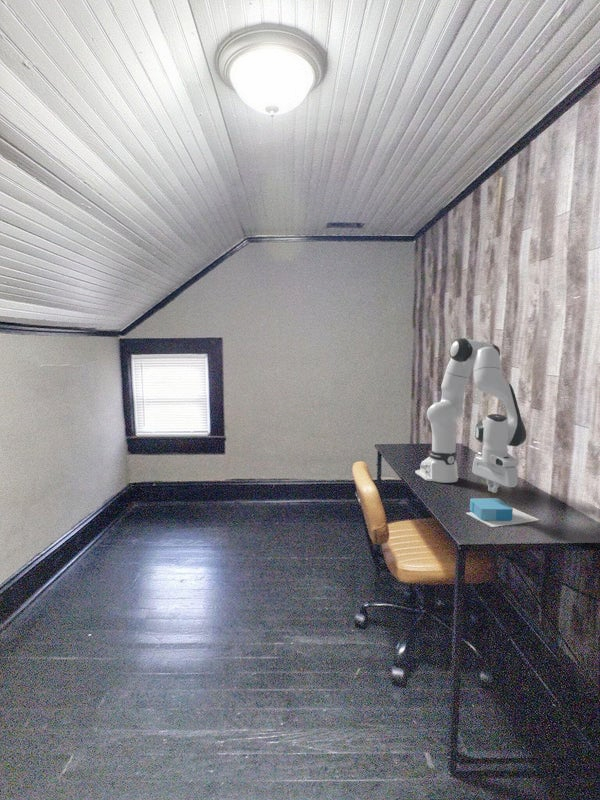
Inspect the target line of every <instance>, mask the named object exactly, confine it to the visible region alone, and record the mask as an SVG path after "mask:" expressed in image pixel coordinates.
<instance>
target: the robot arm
mask: <svg viewBox="0 0 600 800" xmlns="http://www.w3.org/2000/svg"><path fill="white" fill-rule="evenodd" d="M449 355H450V359H449V362H448V364H447V367H446V369H445V372H444V375H443V379H442V382H441V385H440V386H441V387H440V388H441V399H440V401H437V402H434V403H433V404H432V405H430V406H429V407H428V408H427V410H426V417H427V419H428V421H429V424H430V427H431V435H432V438H431V442H432V443H431V449H428V452H429V455H428V457H426V458H425V459H424V460H422V461H421V463H420V469H416V470H415V474H416V475H418V476H420V478H421V479H423V480H425V481H428V482H436V483H443V484H444V483H445V484H447V483H448V484H449V483H450V484H451V483H456V482H458V481H459V478H460V476H459V475H458V462H457V451H456V450H457V449H456V447H457V446H456V445H457V435H456V433H455V431H454V430H455V429H454V423H453V422H456V421H457V420H459V419H460V418H461V417H462V415H463V413H464V408H463V405H464V398H465V392H466V389H467V386H468V382H469V380H470V377H471V373H472V371H473V373H472V374H473V382H474V385H475V386H476V388H477V390H479V391H481V392H482V393H484V394H486V395H490V396H492V397H495V398H497V399H499V400H501V402H503V404H504V407H505V411H506V415H507V417H506V416H505V415H503V414H499V413H498V414H497V413H492V414H491V413H490V414H488V415H486V416H485V418H484V419H483V420H480V421H479V422H477V424H475V435H474V438H475V439H476V440H477V441H478V442H479V443H481V444H483V446H482V451H478V452H476V453H475V454H474V459H473V461H472V462H473V463H472V468H471V471H472V473H473V475H475V476H478V477H481V478H483V479H485V481H486V485H487V486H488V487H487V490H488V492H491V493H494V494H495V493H498V488H499V487H500V486H501V485H502V486H504V487H506V488H515V487H517V486H518V481H519V471H518V470H519V469H518V468H517V467H518V465H519V460H517V459H516V458H514V457H513V456H512V455H511V454H510V453H508V452H509V451H508V450H509V449H508V446H509V447H519V446H521V445H522V444H523V443H525V441H526V439H527V430H526V427H525V424H524V421H523V419H522V416H521V413H520V409H519V405H518V401H517V397H516V394H515V390H514V388H513V386H512V385H511V383H509V382H508V381H506V379H505V377H504V376H503V367H502V362H501V350H500V347H499V346H497V345H496V344H494V343H492V342H486V341H484V340H479V339H477V340H476V339H467V338H462V337H460V338H457V339H454V340H453V342H452V343H451V345H450V347H449Z"/></svg>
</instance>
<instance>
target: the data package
mask: <svg viewBox="0 0 600 800" xmlns="http://www.w3.org/2000/svg"><path fill="white" fill-rule="evenodd" d="M513 508H514V507H511V506H510V505H509V504H507V503H506V502H504V501H503V500H501V499H500V498H498V497H497V498H495V497H494V498H490V497H487V498H485V497H483V498H480V497H479V498H474V497H473V498H470V499H469V512H473V513H474V514H475V515H476V516H477V517H478V518H480V519H481V520H484V521H510V520H512V512H513Z"/></svg>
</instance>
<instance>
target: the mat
mask: <svg viewBox="0 0 600 800" xmlns="http://www.w3.org/2000/svg"><path fill="white" fill-rule="evenodd" d="M512 508H513V512H512V520H510V521H484V520H481V519H480V518H478V517H477V516H476V515H475V514H474V513H473V512H471V511H469V512H465V514H466V515H468V516H469V517H471V518H474V519H475V520H477V521H479V522H480V523H483V524H485V525H486V526H488V527H491V528H492V527H493V528H498V527H499V526H500V527H505V525H506V526H511V525H512V526H513V525H518V524H526V523H533V522H540V519H539V518H537V517H534V516H532V515H531V514H528V513H525V512H523V511H521V510H519V509H516V508H514V507H512Z"/></svg>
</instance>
